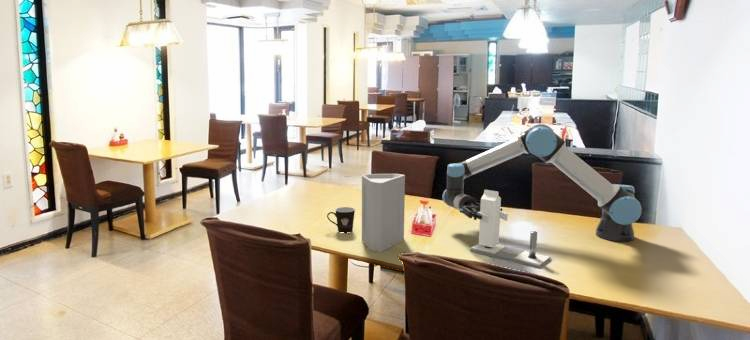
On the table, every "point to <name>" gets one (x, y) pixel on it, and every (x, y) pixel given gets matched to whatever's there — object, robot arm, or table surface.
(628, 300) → the table surface
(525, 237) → the table surface
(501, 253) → the plate
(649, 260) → the table surface
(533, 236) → the steel pin
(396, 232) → the tall triangular prism
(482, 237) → the milk
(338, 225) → the coffee mug
